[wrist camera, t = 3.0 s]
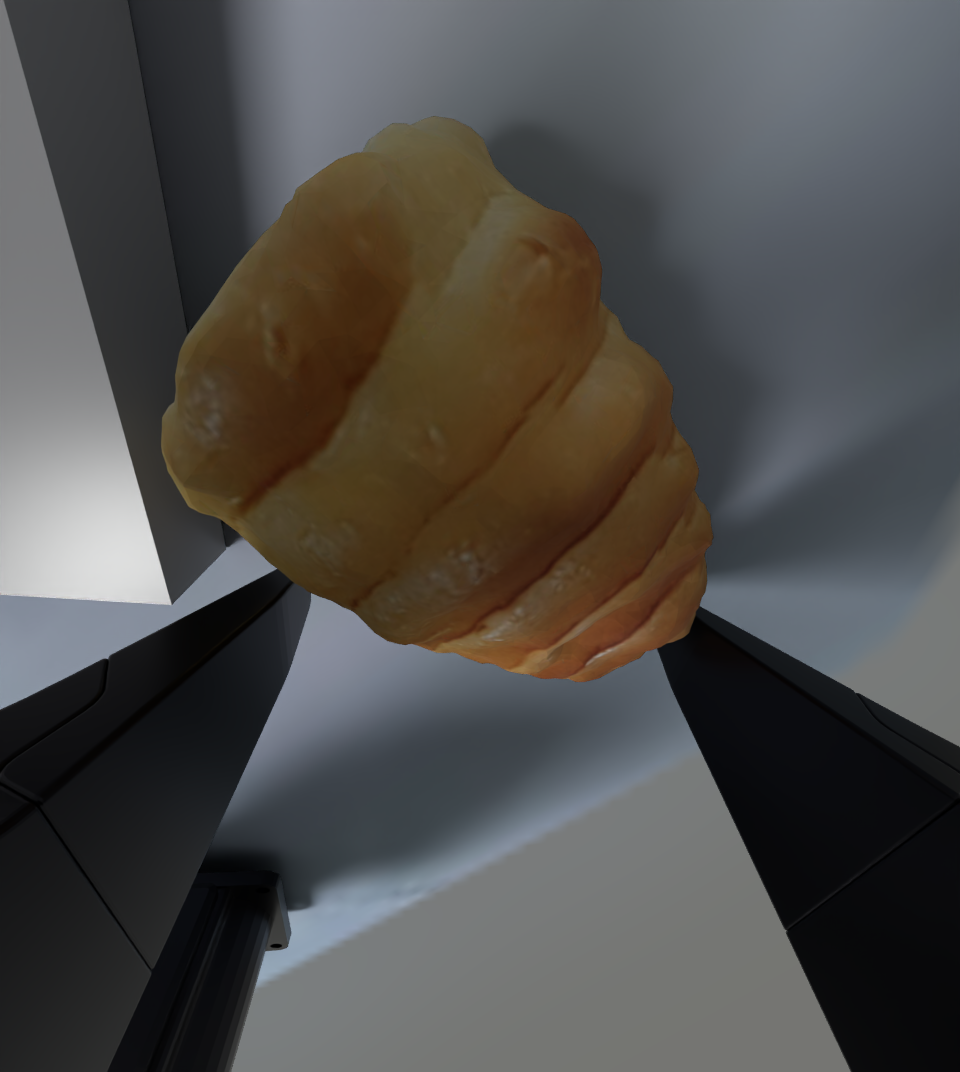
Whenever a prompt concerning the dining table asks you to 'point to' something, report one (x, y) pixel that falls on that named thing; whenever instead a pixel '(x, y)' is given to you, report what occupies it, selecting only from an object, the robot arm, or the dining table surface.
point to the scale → (86, 319)
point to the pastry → (443, 418)
